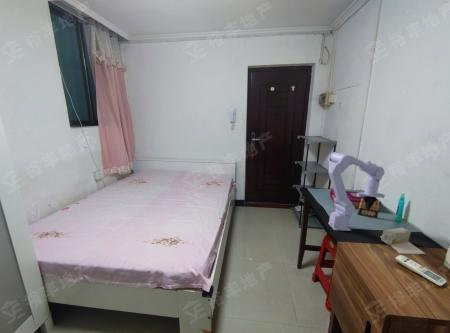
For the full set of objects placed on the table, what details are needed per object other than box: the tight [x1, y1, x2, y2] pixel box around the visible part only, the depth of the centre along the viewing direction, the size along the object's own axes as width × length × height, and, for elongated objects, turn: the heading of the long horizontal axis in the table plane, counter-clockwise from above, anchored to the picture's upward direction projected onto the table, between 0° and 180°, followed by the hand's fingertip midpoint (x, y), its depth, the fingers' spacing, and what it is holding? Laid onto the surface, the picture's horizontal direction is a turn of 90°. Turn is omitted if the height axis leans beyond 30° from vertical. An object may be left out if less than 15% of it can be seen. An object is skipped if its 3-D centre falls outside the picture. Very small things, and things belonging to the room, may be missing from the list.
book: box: [329, 188, 382, 213], centre depth 158 cm, size 21×28×8 cm
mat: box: [380, 235, 426, 255], centre depth 108 cm, size 12×14×1 cm
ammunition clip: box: [357, 198, 380, 219], centre depth 137 cm, size 11×2×12 cm, turn 66°
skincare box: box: [380, 227, 412, 246], centre depth 109 cm, size 6×4×12 cm
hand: (367, 208), depth 125 cm, fingers closed
